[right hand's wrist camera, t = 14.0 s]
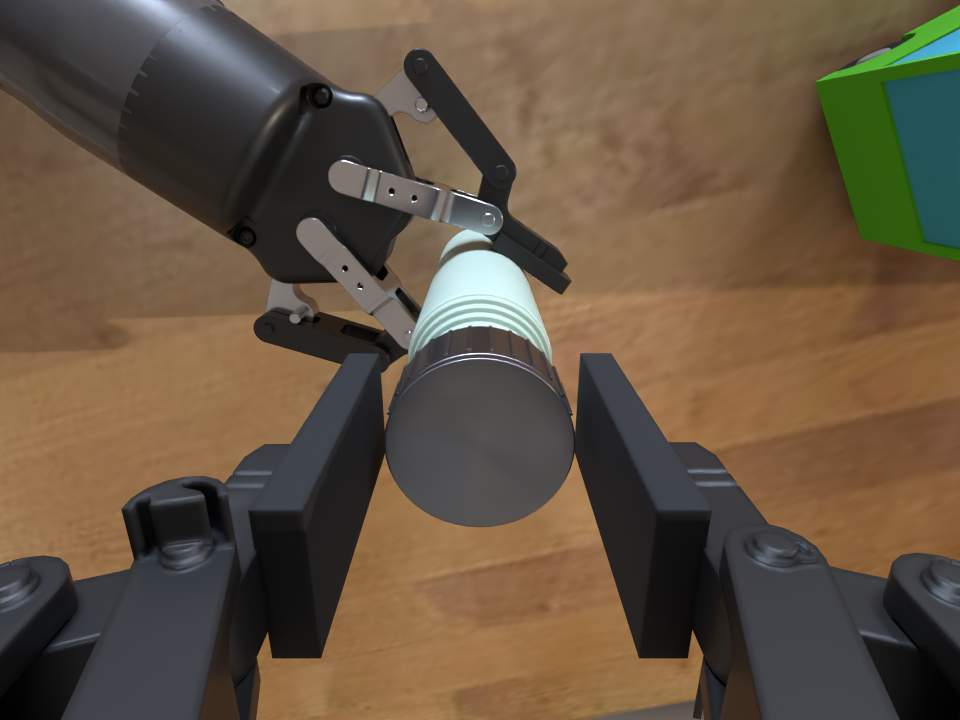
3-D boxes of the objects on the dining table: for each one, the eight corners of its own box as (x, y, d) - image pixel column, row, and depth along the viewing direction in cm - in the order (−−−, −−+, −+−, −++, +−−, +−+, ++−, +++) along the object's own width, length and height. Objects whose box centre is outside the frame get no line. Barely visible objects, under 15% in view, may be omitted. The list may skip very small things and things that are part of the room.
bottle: (423, 272, 31) (343, 445, 13) (475, 209, 30) (469, 303, 12) (483, 322, 32) (489, 549, 14) (536, 264, 31) (617, 428, 13)
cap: (558, 476, 15) (572, 530, 13) (399, 475, 15) (386, 529, 13) (568, 323, 14) (584, 356, 12) (392, 323, 14) (376, 355, 12)
